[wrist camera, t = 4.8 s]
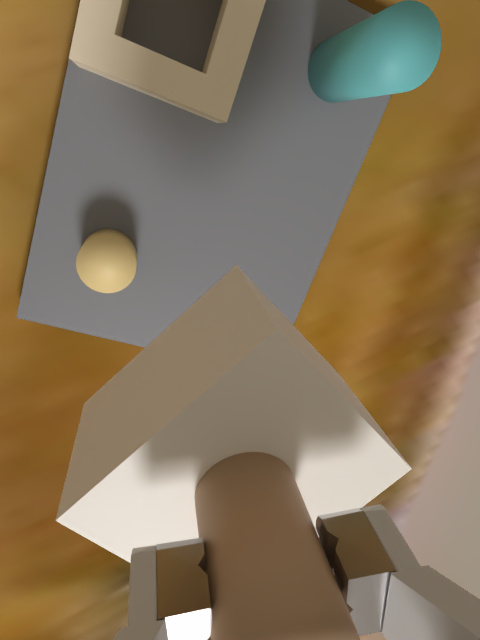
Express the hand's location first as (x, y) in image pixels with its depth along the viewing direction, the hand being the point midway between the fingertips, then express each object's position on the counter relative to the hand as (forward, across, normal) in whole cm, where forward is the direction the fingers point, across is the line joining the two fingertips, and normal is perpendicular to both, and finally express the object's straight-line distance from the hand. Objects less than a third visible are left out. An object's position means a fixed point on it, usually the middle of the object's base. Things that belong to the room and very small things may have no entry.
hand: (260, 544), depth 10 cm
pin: (+18, -8, -11) cm, 23 cm away
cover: (+6, 0, 0) cm, 6 cm away
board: (+19, -1, -6) cm, 20 cm away
